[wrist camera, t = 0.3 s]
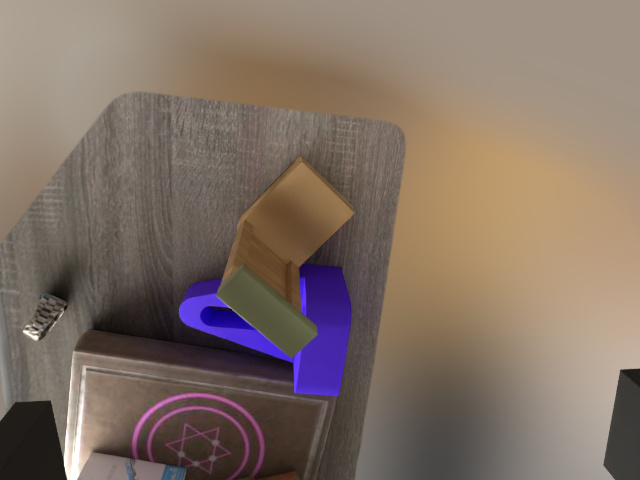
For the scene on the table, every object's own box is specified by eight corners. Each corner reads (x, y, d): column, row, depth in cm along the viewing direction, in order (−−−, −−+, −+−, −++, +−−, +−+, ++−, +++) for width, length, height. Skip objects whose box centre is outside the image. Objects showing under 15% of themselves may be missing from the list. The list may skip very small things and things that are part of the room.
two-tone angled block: (300, 155, 58) (308, 203, 38) (350, 204, 60) (383, 274, 40) (239, 217, 60) (215, 296, 40) (290, 262, 62) (291, 359, 42)
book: (75, 474, 70) (60, 504, 65) (89, 325, 63) (72, 346, 58) (301, 501, 73) (302, 532, 69) (336, 364, 67) (340, 386, 62)
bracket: (341, 267, 63) (353, 310, 52) (329, 347, 66) (337, 405, 55) (188, 252, 61) (166, 294, 50) (183, 335, 64) (162, 392, 53)
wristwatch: (69, 310, 64) (67, 301, 60) (38, 346, 62) (35, 338, 57) (47, 296, 64) (44, 285, 59) (15, 331, 61) (10, 323, 57)
